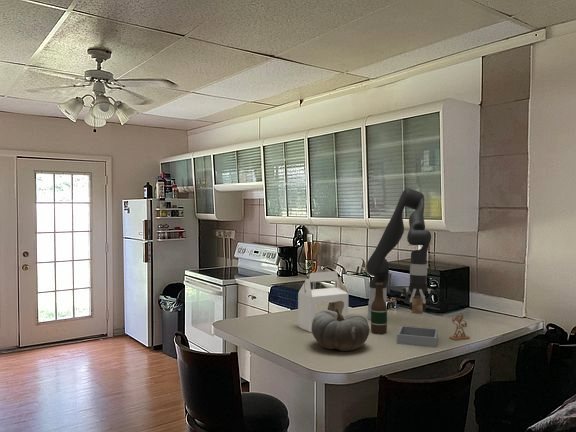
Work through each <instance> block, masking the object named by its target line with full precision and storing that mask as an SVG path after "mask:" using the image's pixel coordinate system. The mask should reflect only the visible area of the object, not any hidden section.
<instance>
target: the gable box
mask: <svg viewBox="0 0 576 432" xmlns="http://www.w3.org/2000/svg"><path fill="white" fill-rule="evenodd" d="M307 277H308V278H306V279H304V283H303V284H302V286H301V288H300V289H299V291H298V295H297V327H298V328H300V329H302V330H304V331H307V332H309V333H311V334H313V333H312V322H313V319H314V317H315V316H316V315H317V314H318V311H317V305H319V304H321V303H328V306H327V310H331V311H334V312H336V311H335V309H336V308H337V309H338V311H339V312H340V313H341V314H342V315H343V316H346V315H348V314H349V292H348V290H347V288H346V287H345V285H344V282H343V281H342V277H341V276H338V271H336V270H332V271H317V272H316V271H315V272H310V273H309V274H307ZM327 281H334V287H328V288H327V287H325V288H315V289H313V288H312V283H314V282H316V283H317V282H327Z"/></svg>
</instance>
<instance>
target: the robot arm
mask: <svg viewBox="0 0 576 432" xmlns="http://www.w3.org/2000/svg"><path fill="white" fill-rule="evenodd" d="M405 207H406V208H409V209H412V210H414V211H413V212H411V214H410V216H409V218H408V224H409V225H408V226H409V230H408V233H407V237H406V241H407V243H408V244H409V245H411V246H421V248H420V249H415V250H413V251H411V252H410V267H409V285H408V286H407V287H403V288H402V290H403V291H402V292H403V295H404V298H405V301H407V302H408V303H409V310H410V311H411V312H412V298H414V296H418V297H421V298H423V313H424V312H425V311H426V310H427V304H428V303H431V300H432V297H433V293H434V289H431V288H429V287H428V268H427V259H428V257H427V256H428V251H429V248H430V244H431V242H432V241H431V240H432V234H431V232H430V230H428V229H426V223H425V217H424V213H425V212H424V211H425V195H424V194H423V193H422V192H421V191H418V190H415V189H412V188H410V187H406V188H404V190H403V191H402V193H401V194H400V197H399V199H398V202H397V205H396V207H395V209H394V211H393V212H392V213H393V214H392V216H391V218H390V219H389V222H388V224H387V226H386V227H385V229H384V231H383V233H382V235H381V237H380V239H379V242H378V244H377V246H376V248H375V249H374V251H373V252H372V254H371V256H370V257H369V259H368V261H367V262H366V271H367V273H368V274H369V275H370V276H374V277H372V279H371V280H370V281H369V283H368V284H369V286H368V288H369V290H368V292H369V293H368V294H369V296H368V302H367V304H368V307H367V311H368V313H367V320H371V305H372V302H373V301H374V300H375V293H376V283H383V299H384V301H385V303H386V304H387V285H388V282H389V275H390V274H389V273H390V272H389V271H390V267H389V266H390V265H389V261H388V260H387V259H386V257H387V256H388V254H389V253H390V252H391V251H392V250H393V249H394V248H395V247H397V246H398V244H399V242H400V241H401V239H402V238H403V235H404V233H405V225H404V220H403V219H404V218H403V213H404V210H405ZM408 292H411V295H410V297H409V294H408ZM427 292H428V294H429V295H428V298H427V299H426V296H425V293H427Z"/></svg>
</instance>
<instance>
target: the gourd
mask: <svg viewBox="0 0 576 432" xmlns="http://www.w3.org/2000/svg"><path fill="white" fill-rule="evenodd" d="M335 311H336V312H334V311H331V310H328V309H322V310H320V311H319V312H317V315H316V316H315V317H314V319H313V322H312V333H311V334H312V336H313V337H314V339H315V340H316V342H317V343H318V344H319V345H320V346H321V347H322V348H325V349H328V350H335V349H336V350H339V351H341V352H349V351H350V352H351V351H355V350H357V349H358V348H360V347H361V346H363V345H364V344H365V342H366V341H367V339H369V334H370V331H371V328H370V325H369V323H368V319H367V318H366V317H365V316H364V315H362V314H360V313H355V312H354V313H348V315H346V316H343V315H342V314H341V313H340V312H339V311H338V309H337V308H336V309H335Z"/></svg>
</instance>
